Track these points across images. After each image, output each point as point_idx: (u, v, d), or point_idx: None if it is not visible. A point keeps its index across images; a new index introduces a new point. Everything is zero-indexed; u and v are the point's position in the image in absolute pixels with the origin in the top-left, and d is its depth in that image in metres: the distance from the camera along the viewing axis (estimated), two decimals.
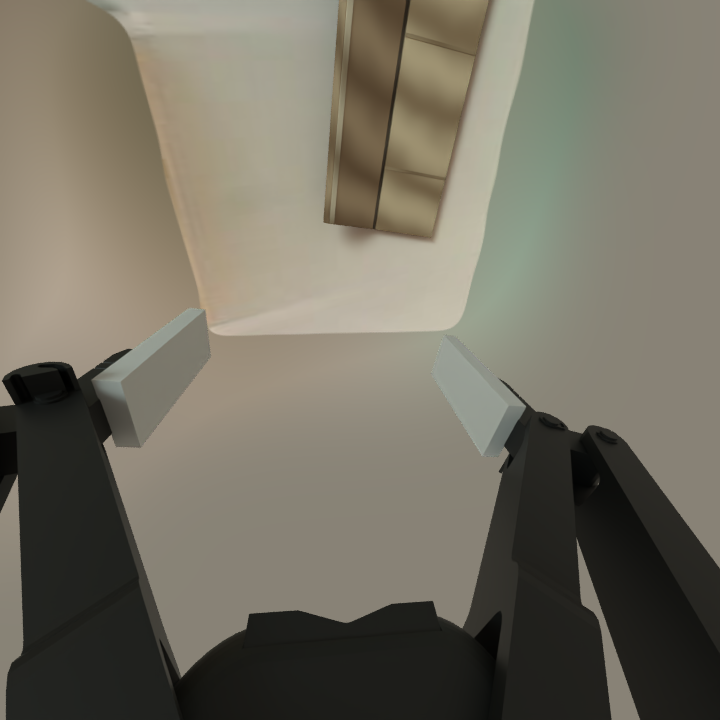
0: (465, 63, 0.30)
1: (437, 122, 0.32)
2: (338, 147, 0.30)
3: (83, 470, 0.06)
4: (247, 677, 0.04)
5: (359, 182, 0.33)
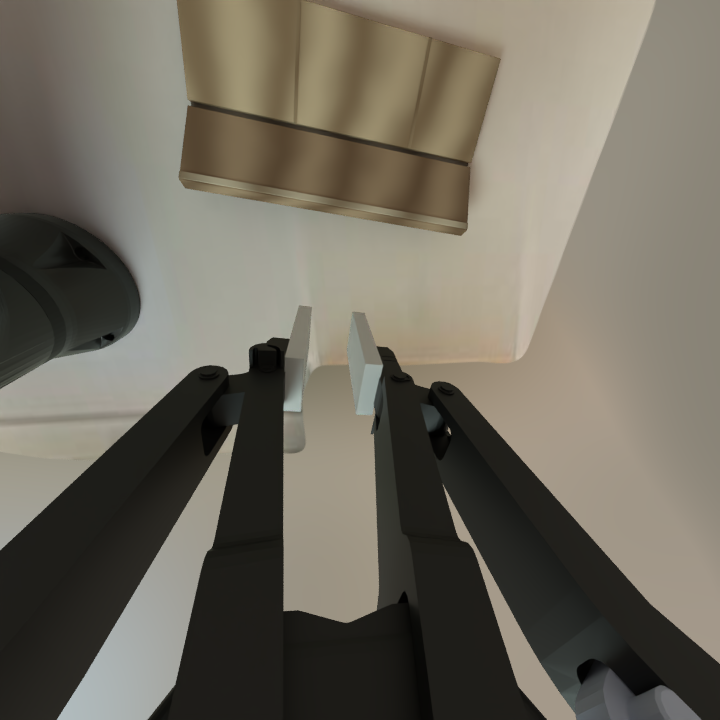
0: (309, 17, 0.23)
1: (368, 63, 0.25)
2: (399, 213, 0.28)
3: (271, 429, 0.08)
4: None
5: (425, 186, 0.28)
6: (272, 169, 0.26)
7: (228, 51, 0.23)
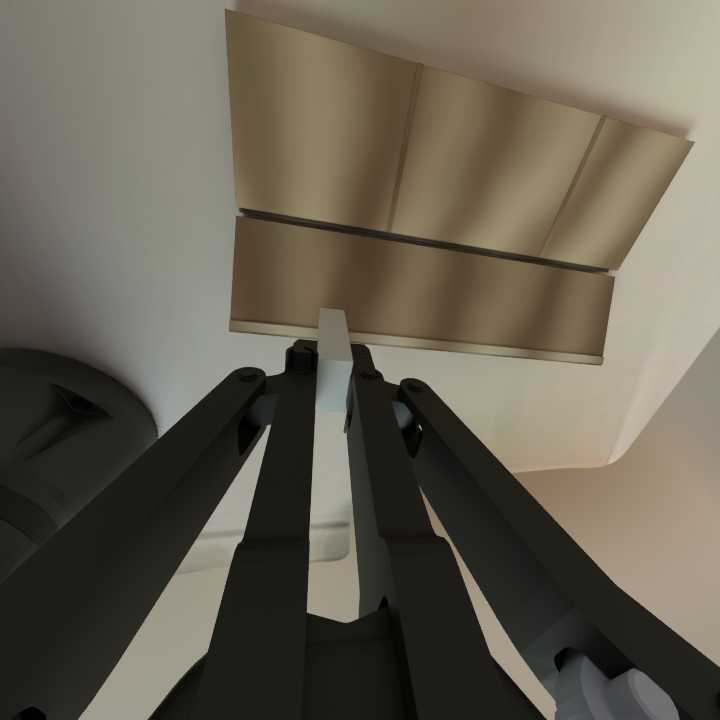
0: (432, 91, 0.15)
1: (506, 152, 0.16)
2: (520, 352, 0.20)
3: (302, 430, 0.08)
4: None
5: (556, 309, 0.21)
6: (356, 304, 0.18)
7: (302, 141, 0.15)
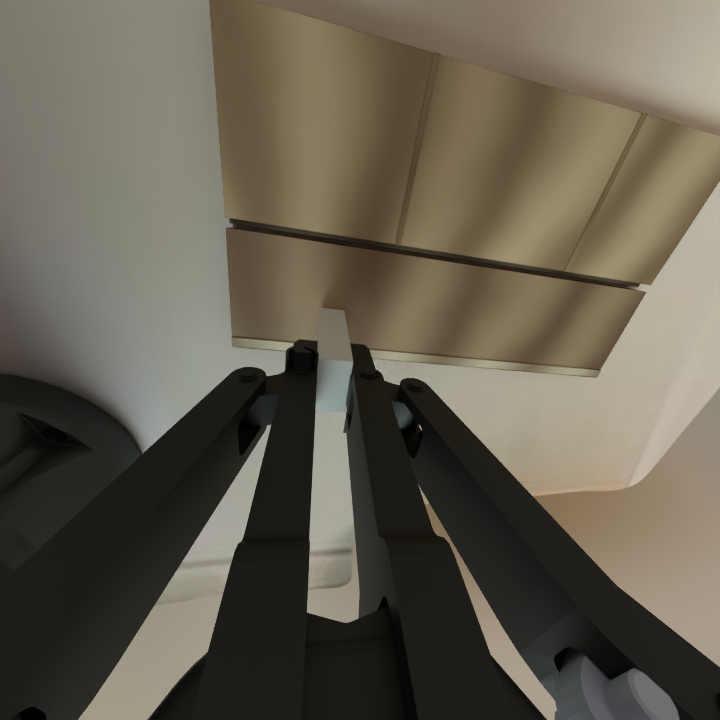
0: (449, 86, 0.13)
1: (532, 155, 0.14)
2: (517, 365, 0.21)
3: (302, 430, 0.08)
4: None
5: (567, 326, 0.20)
6: (357, 321, 0.18)
7: (300, 143, 0.13)
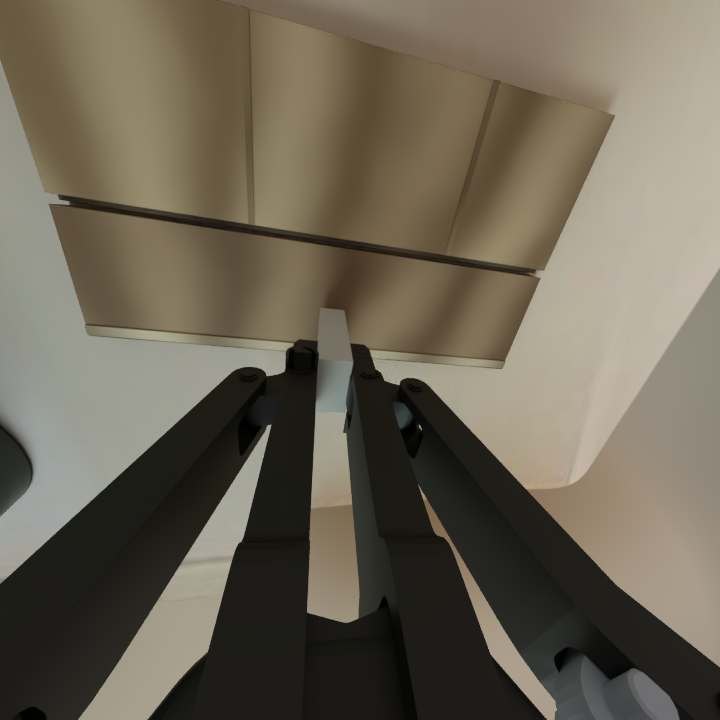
0: (268, 45, 0.12)
1: (381, 126, 0.13)
2: (412, 356, 0.20)
3: (302, 430, 0.08)
4: None
5: (460, 314, 0.19)
6: (224, 308, 0.17)
7: (111, 108, 0.12)
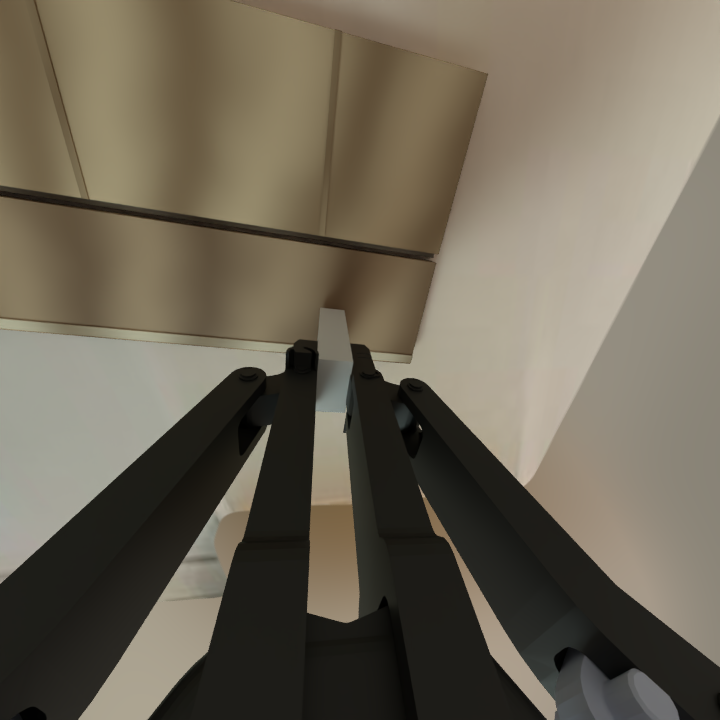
0: None
1: (211, 84, 0.12)
2: None
3: (302, 430, 0.08)
4: None
5: (350, 303, 0.17)
6: (76, 294, 0.15)
7: None
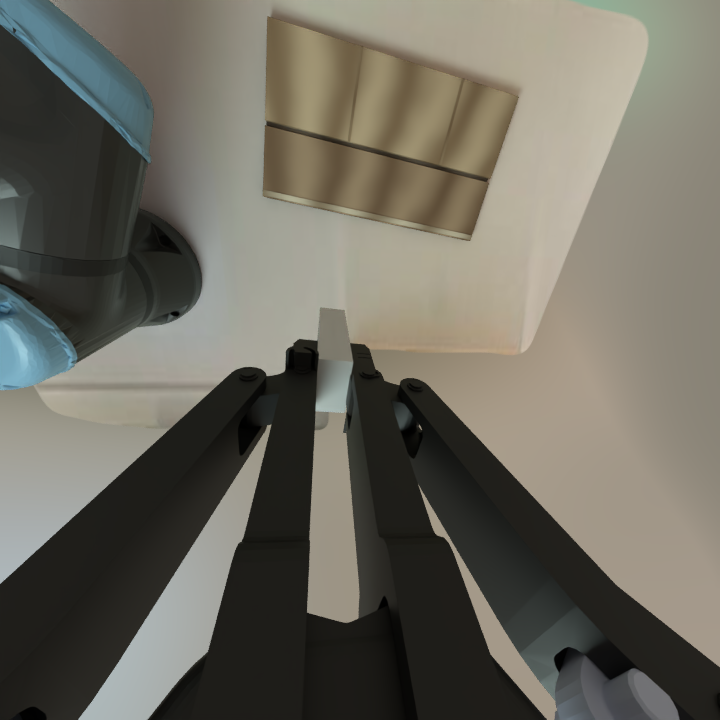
0: (368, 61, 0.29)
1: (411, 96, 0.31)
2: (420, 226, 0.37)
3: (302, 430, 0.08)
4: None
5: (446, 201, 0.36)
6: (328, 186, 0.34)
7: (302, 84, 0.29)
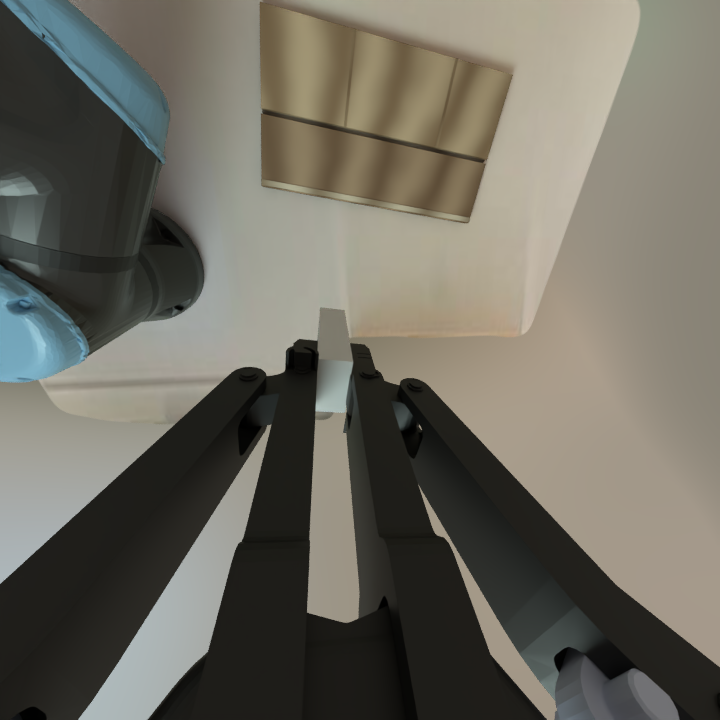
0: (362, 43, 0.29)
1: (406, 78, 0.31)
2: (418, 210, 0.37)
3: (303, 430, 0.08)
4: None
5: (443, 184, 0.36)
6: (326, 173, 0.34)
7: (296, 70, 0.29)
